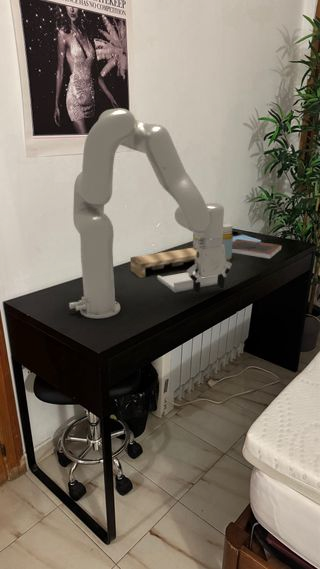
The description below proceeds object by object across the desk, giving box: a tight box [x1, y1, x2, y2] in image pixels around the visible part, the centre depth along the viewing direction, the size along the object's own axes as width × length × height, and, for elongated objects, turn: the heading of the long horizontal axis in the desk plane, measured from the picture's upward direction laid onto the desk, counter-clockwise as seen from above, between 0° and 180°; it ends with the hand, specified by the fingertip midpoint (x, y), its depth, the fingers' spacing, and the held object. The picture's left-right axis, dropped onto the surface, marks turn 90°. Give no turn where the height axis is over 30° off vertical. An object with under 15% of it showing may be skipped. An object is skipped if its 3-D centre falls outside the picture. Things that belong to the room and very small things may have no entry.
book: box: [232, 239, 282, 260], centre depth 189 cm, size 16×2×22 cm
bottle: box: [222, 222, 234, 262], centre depth 175 cm, size 7×7×15 cm
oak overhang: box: [130, 247, 197, 279], centre depth 166 cm, size 30×10×6 cm, turn 116°
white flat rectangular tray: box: [156, 271, 218, 293], centre depth 153 cm, size 20×14×4 cm
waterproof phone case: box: [232, 234, 262, 243], centre depth 205 cm, size 14×12×1 cm
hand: (208, 289), depth 142 cm, fingers open, 9 cm apart
